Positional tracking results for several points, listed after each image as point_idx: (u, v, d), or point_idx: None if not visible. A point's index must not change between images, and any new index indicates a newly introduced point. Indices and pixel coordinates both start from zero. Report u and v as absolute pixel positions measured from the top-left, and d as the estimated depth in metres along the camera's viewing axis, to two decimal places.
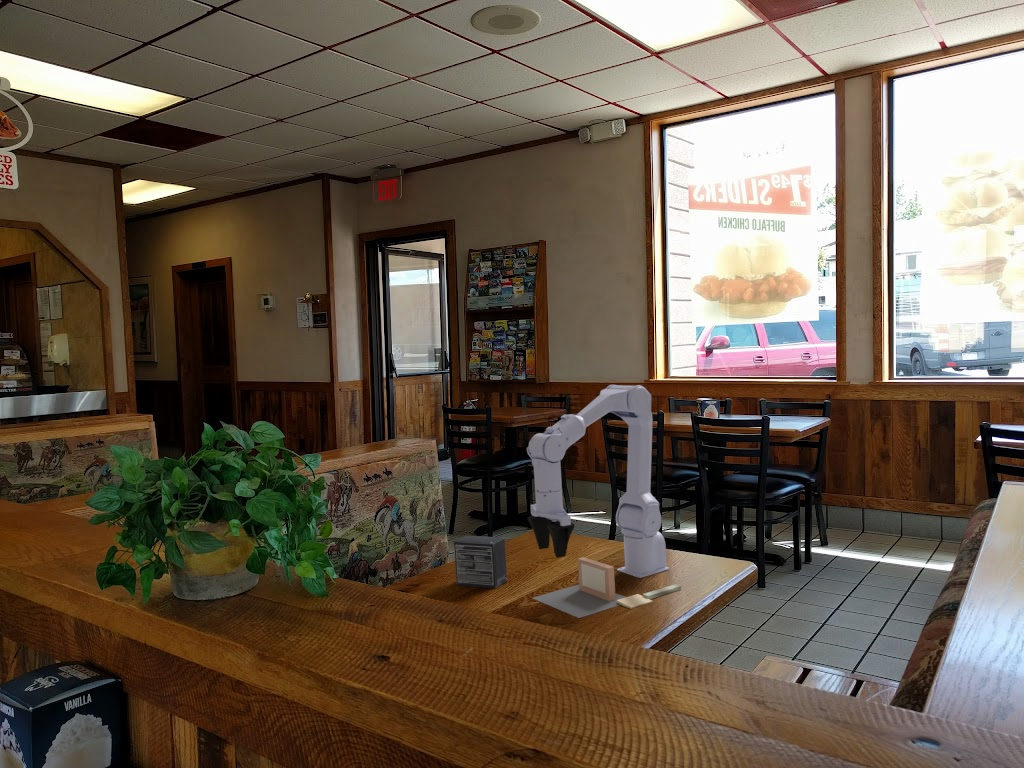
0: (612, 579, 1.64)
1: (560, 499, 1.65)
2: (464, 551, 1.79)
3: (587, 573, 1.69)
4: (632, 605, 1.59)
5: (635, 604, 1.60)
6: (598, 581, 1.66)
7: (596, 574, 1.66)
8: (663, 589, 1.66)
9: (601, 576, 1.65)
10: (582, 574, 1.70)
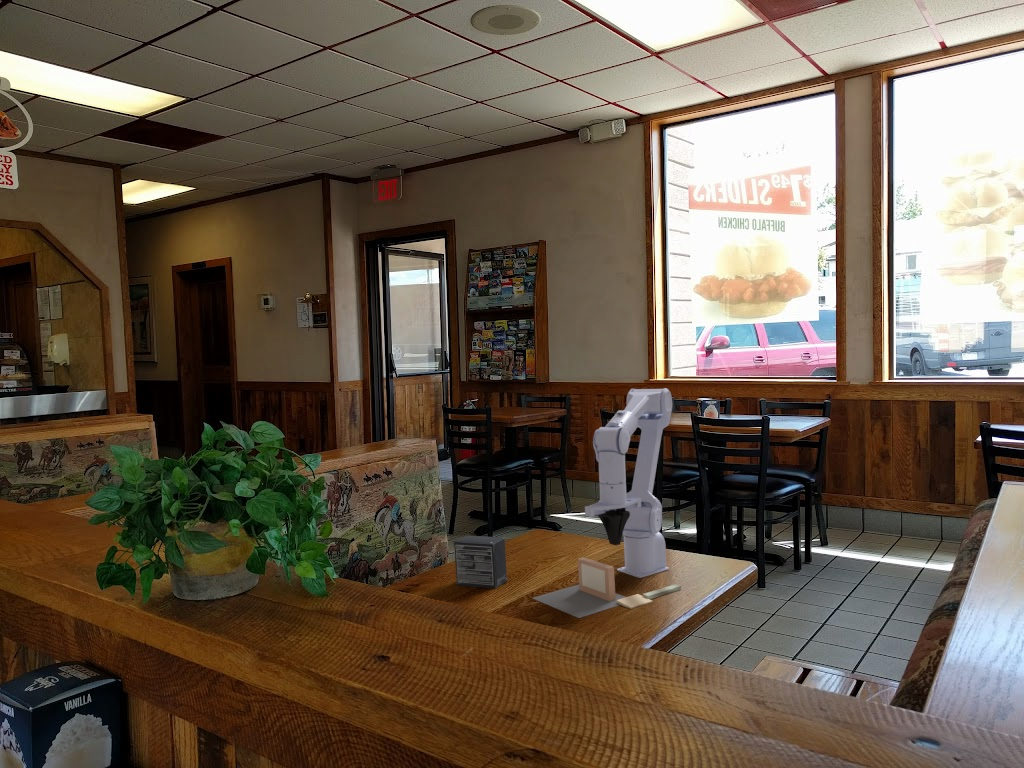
0: (612, 579, 1.64)
1: (608, 493, 1.67)
2: (464, 551, 1.79)
3: (587, 573, 1.69)
4: (632, 605, 1.59)
5: (635, 604, 1.60)
6: (598, 581, 1.66)
7: (596, 574, 1.66)
8: (663, 589, 1.66)
9: (601, 576, 1.65)
10: (582, 574, 1.70)
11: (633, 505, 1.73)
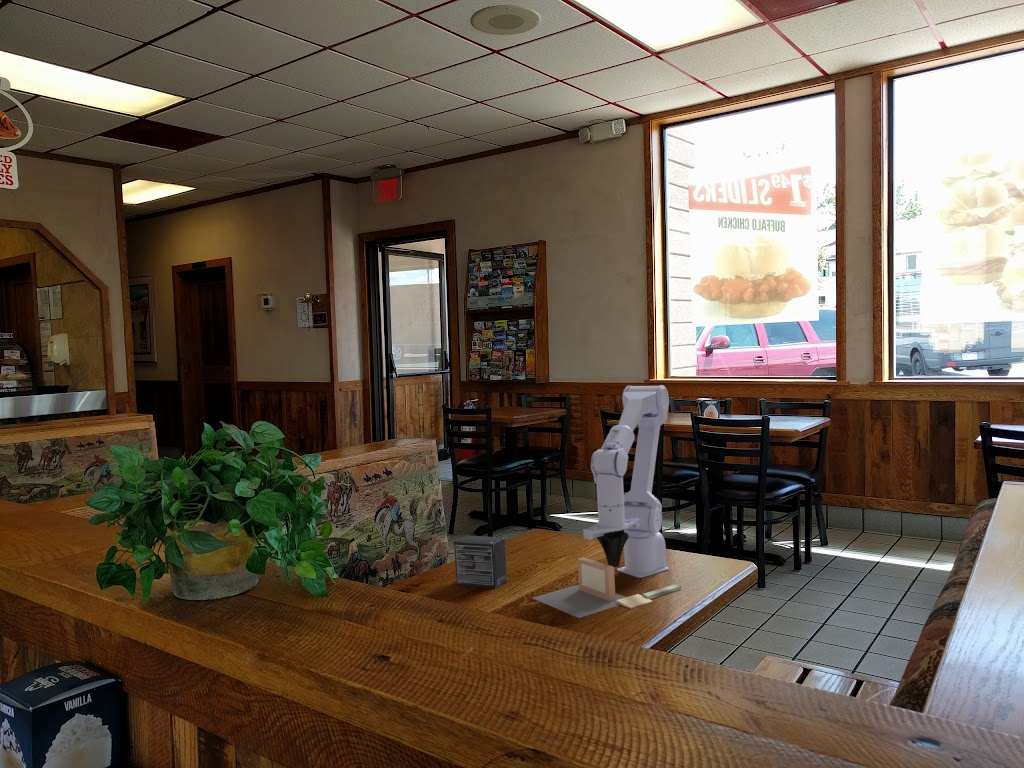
0: (612, 579, 1.64)
1: (607, 515, 1.67)
2: (464, 551, 1.79)
3: (587, 573, 1.69)
4: (632, 605, 1.59)
5: (635, 604, 1.60)
6: (598, 581, 1.66)
7: (596, 574, 1.66)
8: (663, 589, 1.66)
9: (601, 576, 1.65)
10: (582, 574, 1.70)
11: (631, 526, 1.73)
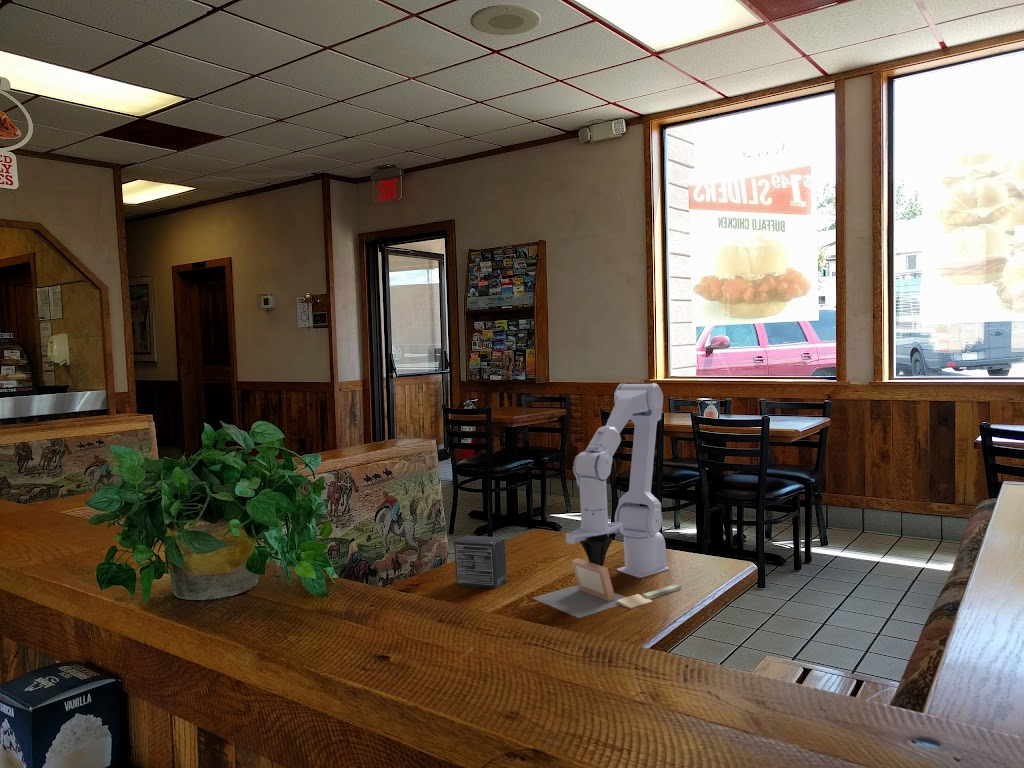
0: (608, 579, 1.63)
1: (590, 519, 1.64)
2: (464, 551, 1.79)
3: (583, 575, 1.68)
4: (632, 605, 1.59)
5: (635, 604, 1.60)
6: (595, 582, 1.65)
7: (592, 576, 1.66)
8: (663, 589, 1.66)
9: (597, 578, 1.64)
10: (579, 576, 1.70)
11: (615, 530, 1.70)
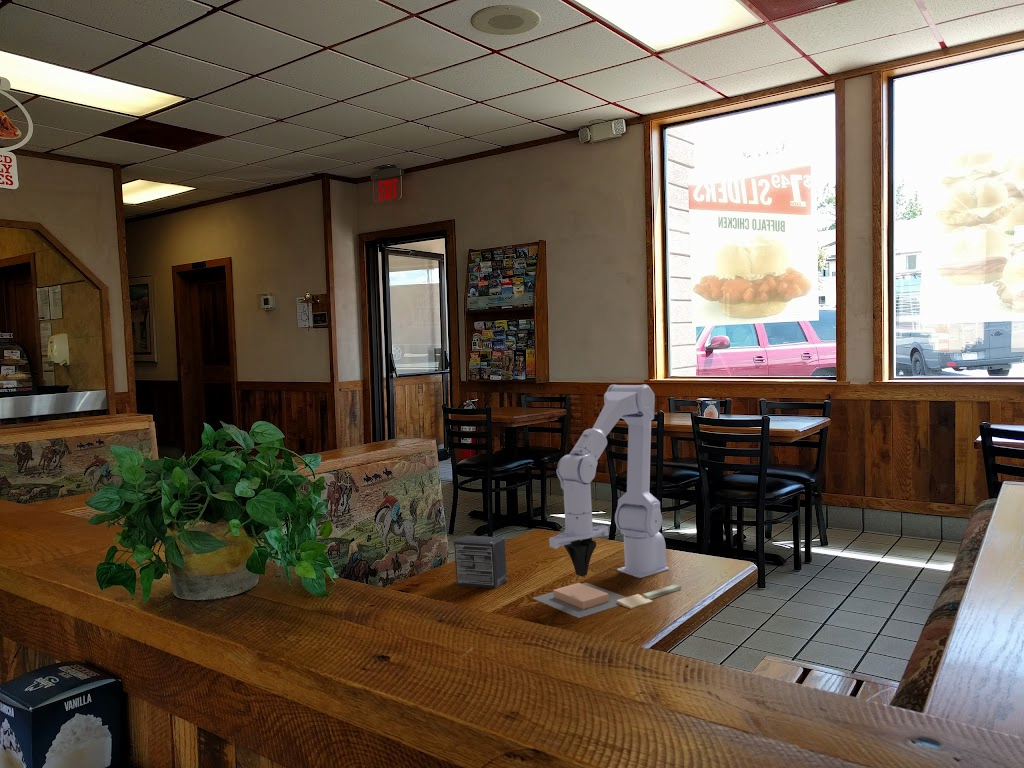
0: (592, 601, 1.61)
1: (574, 523, 1.62)
2: (464, 551, 1.79)
3: None
4: (632, 605, 1.59)
5: (635, 604, 1.60)
6: None
7: None
8: (663, 589, 1.66)
9: None
10: None
11: (600, 534, 1.68)
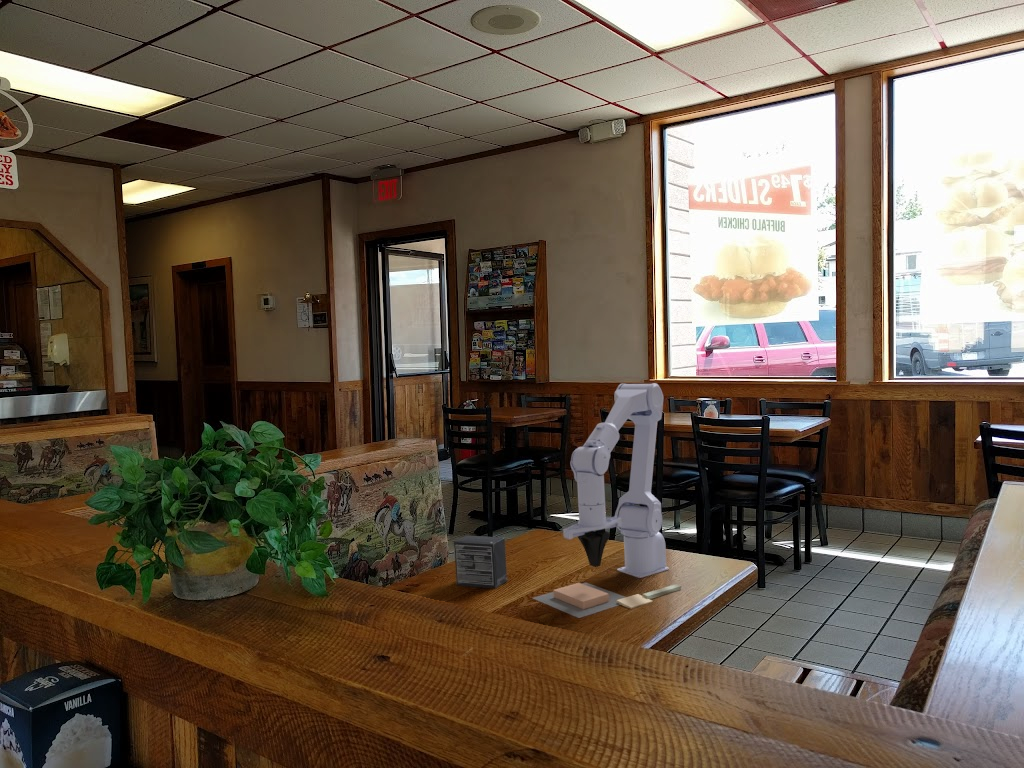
0: (592, 601, 1.61)
1: (587, 514, 1.64)
2: (464, 551, 1.79)
3: None
4: (632, 605, 1.59)
5: (635, 604, 1.60)
6: None
7: None
8: (663, 589, 1.66)
9: None
10: None
11: (613, 525, 1.70)
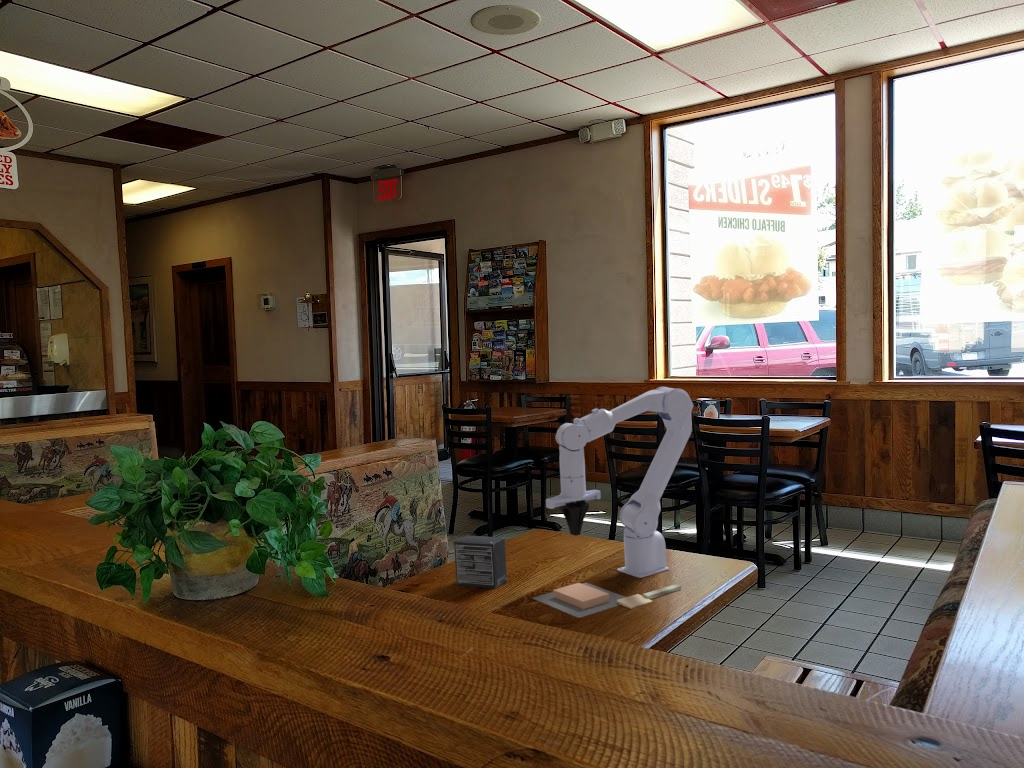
0: (592, 601, 1.61)
1: (568, 486, 1.76)
2: (464, 551, 1.79)
3: None
4: (632, 605, 1.59)
5: (635, 604, 1.60)
6: None
7: None
8: (663, 589, 1.66)
9: None
10: None
11: (593, 497, 1.82)
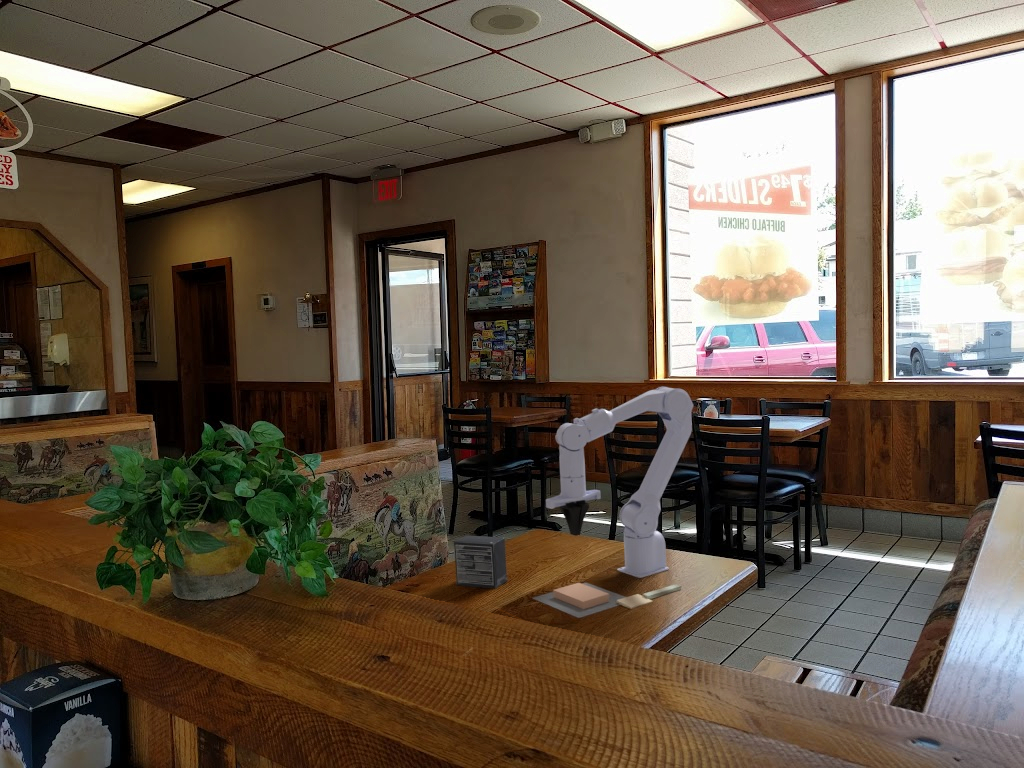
0: (592, 601, 1.61)
1: (568, 486, 1.76)
2: (464, 551, 1.79)
3: None
4: (632, 605, 1.59)
5: (635, 604, 1.60)
6: None
7: None
8: (663, 589, 1.66)
9: None
10: None
11: (593, 497, 1.82)
